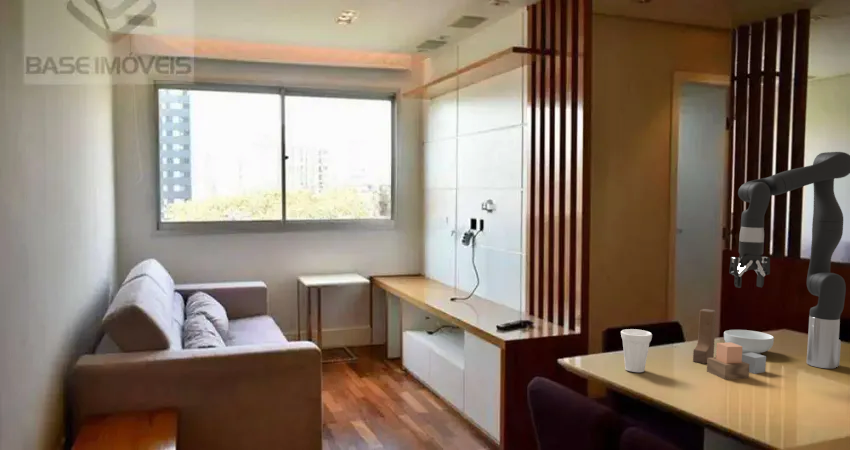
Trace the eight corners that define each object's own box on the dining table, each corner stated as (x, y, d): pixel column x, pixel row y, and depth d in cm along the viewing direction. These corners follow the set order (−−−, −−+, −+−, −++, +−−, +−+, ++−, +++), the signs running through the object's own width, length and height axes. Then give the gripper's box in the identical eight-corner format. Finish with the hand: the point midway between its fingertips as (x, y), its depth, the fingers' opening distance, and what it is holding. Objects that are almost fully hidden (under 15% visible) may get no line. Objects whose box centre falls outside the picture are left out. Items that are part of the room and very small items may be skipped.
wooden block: (705, 364, 228) (708, 313, 227) (692, 361, 231) (695, 311, 230) (713, 359, 235) (716, 310, 234) (700, 356, 238) (703, 308, 237)
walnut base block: (729, 371, 221) (730, 356, 221) (748, 379, 213) (749, 364, 212) (706, 372, 219) (707, 357, 219) (724, 380, 211) (725, 365, 210)
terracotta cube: (730, 358, 219) (731, 342, 218) (741, 363, 213) (742, 346, 213) (716, 358, 218) (716, 342, 217) (726, 363, 212) (727, 346, 212)
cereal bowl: (774, 351, 249) (775, 333, 248) (770, 360, 235) (772, 341, 234) (726, 344, 258) (727, 326, 258) (719, 353, 244) (720, 334, 243)
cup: (655, 370, 218) (657, 332, 218) (642, 377, 211) (644, 337, 210) (627, 364, 225) (629, 327, 224) (614, 370, 218) (615, 332, 217)
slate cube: (750, 367, 225) (751, 352, 225) (765, 372, 220) (766, 356, 220) (740, 369, 223) (740, 353, 222) (754, 374, 218) (755, 357, 217)
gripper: (761, 239, 228) (758, 285, 229) (726, 239, 224) (723, 285, 226) (777, 241, 220) (774, 288, 221) (741, 241, 217) (738, 289, 218)
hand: (748, 287), depth 223 cm, fingers open, 8 cm apart
